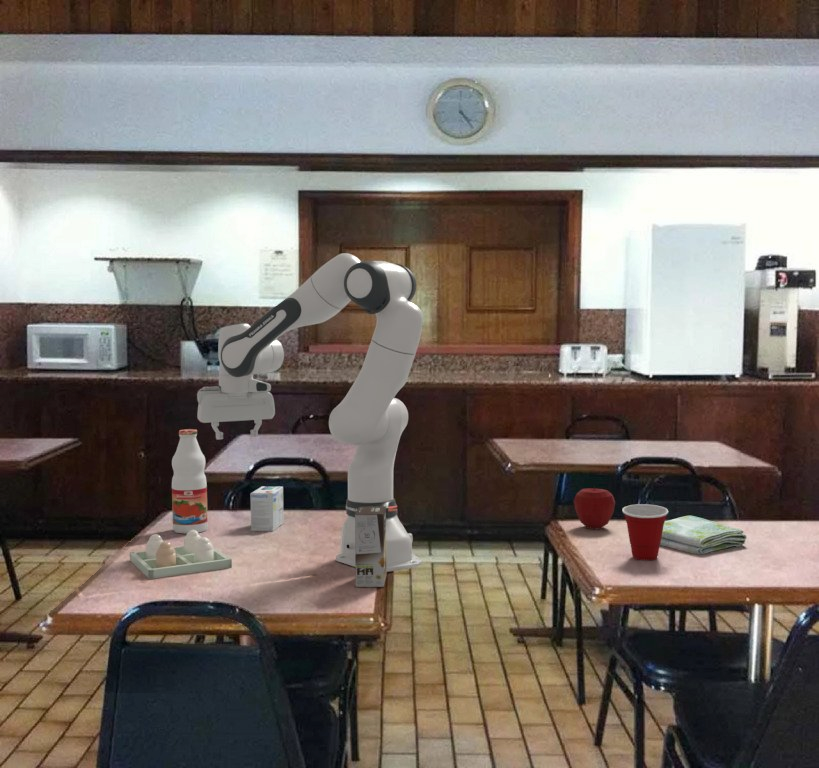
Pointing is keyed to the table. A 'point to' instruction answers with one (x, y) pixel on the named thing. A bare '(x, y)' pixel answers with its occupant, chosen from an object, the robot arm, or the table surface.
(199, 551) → the cream egg
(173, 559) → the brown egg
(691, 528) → the towel
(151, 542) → the cream egg
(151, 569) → the egg tray
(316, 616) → the table surface
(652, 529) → the plastic cup
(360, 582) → the coffee box
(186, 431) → the fruit juice
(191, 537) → the cream egg
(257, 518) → the light bulb box
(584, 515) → the apple
